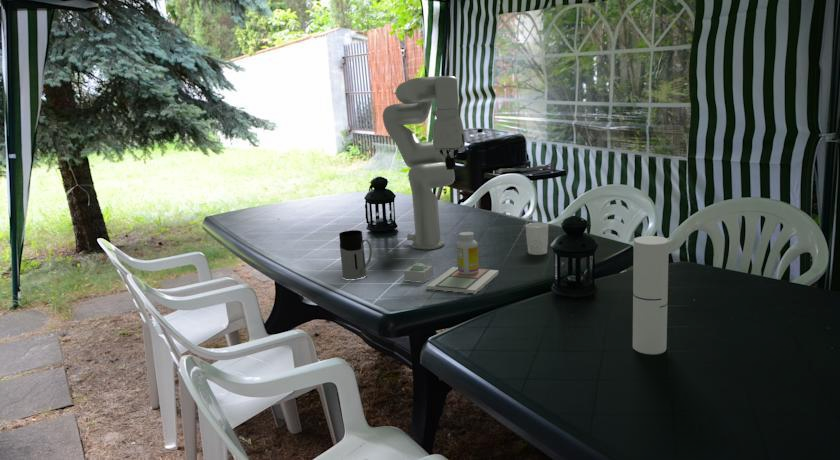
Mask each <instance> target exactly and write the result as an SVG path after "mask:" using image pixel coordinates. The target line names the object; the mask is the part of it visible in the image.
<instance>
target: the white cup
mask: <svg viewBox="0 0 840 460" xmlns="http://www.w3.org/2000/svg"><path fill="white" fill-rule="evenodd" d="M525 235H526V237H525V238H526V246H527V253H528V254H529V255H535V256H542V255H545V254H547V253H548V244H549V224H548V223H546V222H530V223H526V224H525Z"/></svg>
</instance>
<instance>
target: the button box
mask: <svg viewBox="0 0 840 460" xmlns="http://www.w3.org/2000/svg"><path fill="white" fill-rule="evenodd" d="M434 272H435V271H434V266H433V265H425V269H424V270H423V271H415V270H412V265H411V266H409V267H408V268H406V269H405V270H403V275H404V276H403V277H404V281H405V280H410V281H421V282H424V281H426V280H427V279H429V278H431V277H432V276H435V275H434ZM432 278H433V277H432ZM432 278H431V279H432ZM429 280H430V279H429Z"/></svg>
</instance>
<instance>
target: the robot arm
mask: <svg viewBox="0 0 840 460" xmlns="http://www.w3.org/2000/svg"><path fill="white" fill-rule="evenodd" d="M458 88H459V87H458V80H457V77H456V76H455V75H454V76H453V75H439V76H437V75H435V76H424V77H415V78H409V79H407V80H406V81H404V82H401V83H400V84H399V85H398V86H397V88H396V89H395V96H396V98H397V100H398V101H399V102H400V103H394V104H390V105H388V106H387V107H385V108H384V110H383V112H382V122H383V125H384V129H385V130H386V132H387V133H388V136H389V137H390V138H391V139H392V140H393V142H394V143H395V145H396V147H397V148H398V151H399V153H400V156H401V157H402V159H403V161H404V163H405V165H406V166H407V167H408V168H409V171H408V175H407V176H408V177H407V178H408V181H409V185H410V190H411V196H412V207H413V220H414V234H409V233H408V234H407V236H406V239H407V241H412V243H411V247H412V248H413V249H416V250H422V251H423V250H424V251H427V250H435V249H439V248H443V247H444V246H445V245H446V242H445V240H443V239H441V228H440V226H441V225H440V212H439V211H440V210H439V199H438V197H437V196H436V194H435V193H434V192H433V191H432V189H436V188H442V187H443V188H444V187H448V186H450V185H453V183H454V181H455V179H456V175H455V170H454V169H455V168H456V157H457V155H458V154H459V153H462V152H465V151H466V148H465V144H466V142H465V141H466V139H465V132H464V131H465V130H464V125H463V121H462V118H461V117H460V114H459V113H460V109H459V95H458V94H459V93H458V92H459V91H458ZM434 100H435V110H434V111H433V112H432V116H435V119H434V120H433V127H432V141H425V142H424V141H423V142H422V141H420V140H419V139H418V137H417V135H416V133H415V132H414V131H413V130H411V128H409V127H406V125H407V126H409V125H418V124H423V123H425V122H426V121H427V120H428V117H429V114H430V111H431V109H432V106H433V102H434Z"/></svg>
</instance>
